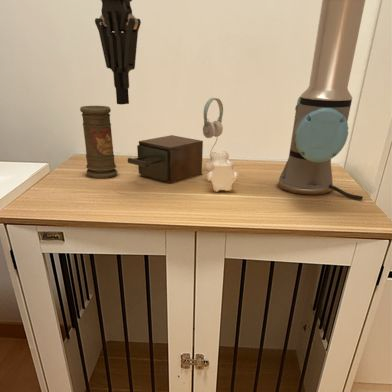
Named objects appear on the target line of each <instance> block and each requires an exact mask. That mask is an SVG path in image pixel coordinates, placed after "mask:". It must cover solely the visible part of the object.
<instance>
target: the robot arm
mask: <svg viewBox="0 0 392 392" xmlns="http://www.w3.org/2000/svg"><path fill="white" fill-rule="evenodd" d="M100 1H101V15H100V16H99V18H98V17H96V18H95V19H94V23H95V26H96V29H97V30H98V35H99V38H100V43H101V49H102V53H103V58H104V62H105V66H106V68H107V69H110V70H111V72H112V74H113V75H112V76H113V86H114V88H115V96H116V98H115V99H116V104H117V105H121V106H123V105H129V104H130V99H129V98H130V97H129V89H130V75H129V74H130V72H131V71H133V70H135V68H136V58H137V49H138V36H139V30H140V28H141V24H142V22H141V21H142V20H141V18H137V17H135V15H134V14H133V9H132V6H131V2H132V1H133V0H100ZM365 4H366V0H321V6H320V13H319V20H318V24H317V25H318V26H317V31H316V38H315V44H314V51H313V58H312V63H311V64H312V65H311V71H310V76H309V82H308V83H309V85H308V87H307V89H305V91H303V93H301V94H300V95H299V97H298V98H297V102H296V105H295V108H294V109H295V113H294V121H293V127H292V133H291V139H290V146H289V153H288V157H287V160H286V163H285V165H284V167H283V170H282V171H281V174H280V176H279V178H278V184H277V185H278V187H279V189H281V190H283V191H286V192H288V193H293V194H298V195H306V196H317V195H318V196H319V195H325V194H328V193H330V192H332V190H333V191H335V192H336V193H339V194H341V195H342V196H345V197H347V198H350V199H355V200H359V201H360V200H361V201H362V200H363V198H364V197H363V195H358V194H357V195H356V194H352V193H348V192H346V191H344V190H343V189H340V188H339V187H337V186H335V185H334V184H333V183H334V182H333V171H332V159H333V158H335V157H336V156H337V155H339V153H340V152H341V151H342V150H343V148H344V147H345V145H346V143H347V139H348V137H349V124H348V121H349V116H350V111H351V106H352V103H353V96H352V95H351V93H350V91H349V88H348V87H349V82H350V77H351V72H352V68H353V63H354V57H355V54H356V47H357V43H358V39H359V33H360V28H361V24H362V19H363V13H364V10H365Z"/></svg>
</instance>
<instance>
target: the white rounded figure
mask: <svg viewBox="0 0 392 392" xmlns="http://www.w3.org/2000/svg"><path fill="white" fill-rule="evenodd" d="M229 157H230V154H229V153H228V151H226V150H223V151H222V152H221V153H218V152H217V151H211V152H210V153H209V160H208V161H206V162H205V164H204V170H205V171H209V172H207V174H206V180H207V181H208V182H211V184H212V185H211V188H212V190H213V191H214V192H216V193H218V192H219V191H225V192H231V191H232V189H233V183H234V182H235V181H237V180H238V178H239V173H238V171H234V170H233V169H234V166H235V163H234V162H233V161H231V160H229Z"/></svg>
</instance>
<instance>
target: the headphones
mask: <svg viewBox="0 0 392 392" xmlns="http://www.w3.org/2000/svg"><path fill="white" fill-rule="evenodd" d="M213 101H216V103H217V105H218V109H219V115H218V117H217V119H216V120H214V121H209V119H208V111H209V108H210V106H211V104H212V102H213ZM223 115H224V105H223V102H222V100H220V98H217V97H210V98H209V99H208V100H207V101H206V102H205V104H204V107H203V125H202V134H203V136H204V137H205V138H206V139H211V138H213V137H215V138H218V137H220V136H221V135H222V133H223V129H224V127H223V124H222V122H223ZM217 142H218V139H216V140H215V142H214V143H213V146H212V147H211V150H210V152H213V149H214V147H215V145H216V144H217Z"/></svg>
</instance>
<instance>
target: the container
mask: <svg viewBox="0 0 392 392" xmlns="http://www.w3.org/2000/svg"><path fill="white" fill-rule="evenodd" d="M79 110H80V112H81V117H82V128H83V129H82V130H83V136H84V144H85V145H84V146H85V159H86V166H85V168H86V169H87V170H86V176H87V177H89V178H93V179H110V178H114V177H116V176H117V175H118V170H117V169H116V168H117V165H116V163H115V154H114V144H113V135H112V133H113V132H112V123H111V114H110V113H111V111H112V109H111V107H110V106H106V105H82V106H80V108H79Z"/></svg>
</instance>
